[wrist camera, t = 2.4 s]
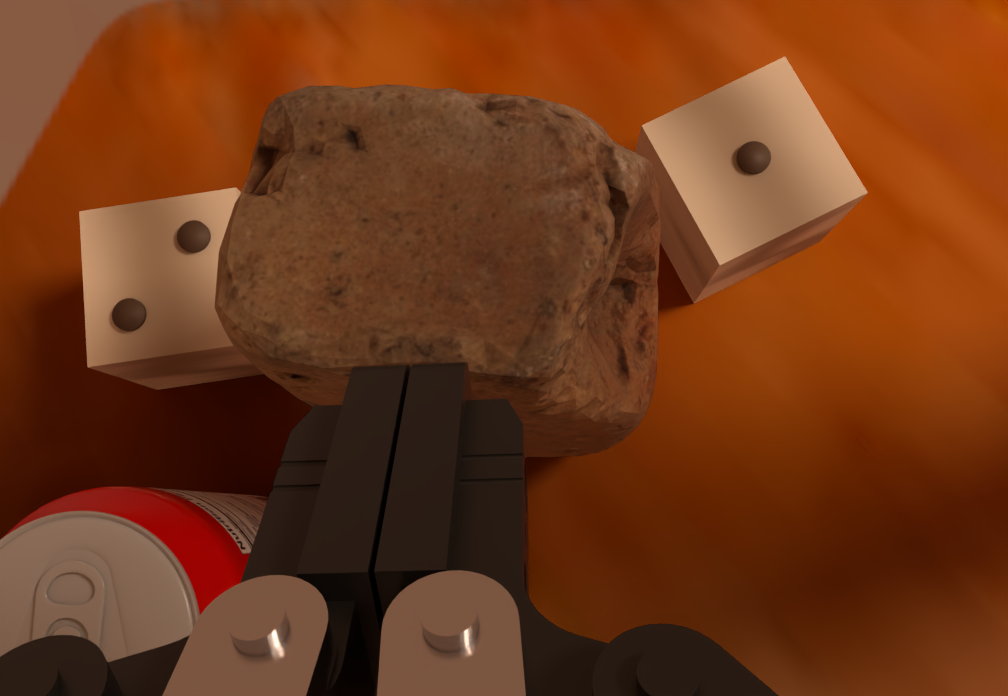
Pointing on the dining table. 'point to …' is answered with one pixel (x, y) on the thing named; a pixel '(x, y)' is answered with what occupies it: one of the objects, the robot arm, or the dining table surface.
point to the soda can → (123, 565)
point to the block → (450, 254)
